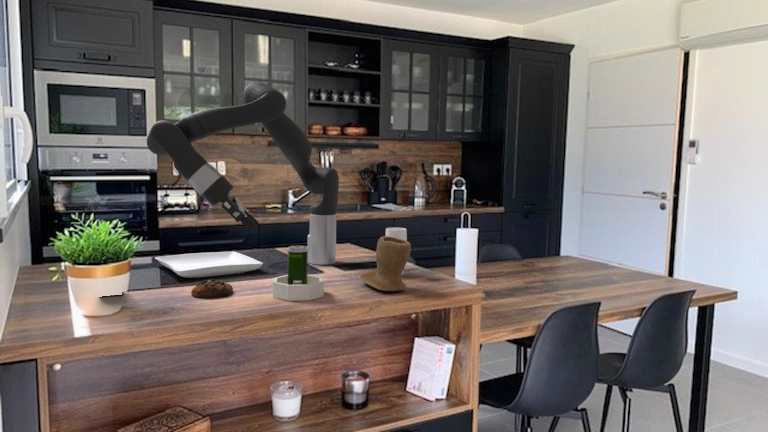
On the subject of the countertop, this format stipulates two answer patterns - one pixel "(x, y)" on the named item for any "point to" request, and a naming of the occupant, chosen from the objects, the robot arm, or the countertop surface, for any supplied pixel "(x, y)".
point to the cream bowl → (298, 288)
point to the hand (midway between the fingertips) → (255, 228)
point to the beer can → (297, 265)
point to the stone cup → (389, 264)
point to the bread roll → (212, 289)
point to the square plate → (209, 264)
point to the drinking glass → (397, 234)
